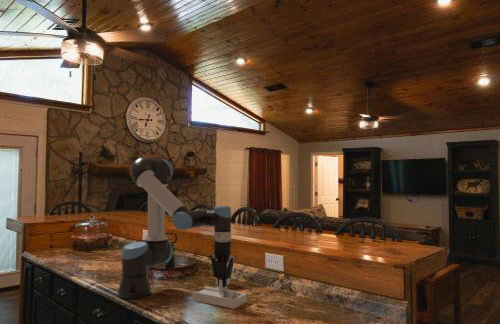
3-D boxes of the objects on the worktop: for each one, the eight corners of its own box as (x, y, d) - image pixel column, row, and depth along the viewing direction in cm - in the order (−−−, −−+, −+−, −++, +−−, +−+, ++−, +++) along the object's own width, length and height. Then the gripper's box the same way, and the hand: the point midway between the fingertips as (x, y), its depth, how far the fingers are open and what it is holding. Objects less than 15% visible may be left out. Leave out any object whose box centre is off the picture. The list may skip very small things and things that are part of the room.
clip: (221, 302, 165) (221, 291, 165) (227, 299, 168) (227, 289, 169) (230, 303, 162) (230, 293, 162) (235, 300, 166) (235, 290, 166)
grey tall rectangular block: (211, 293, 178) (211, 289, 179) (221, 289, 185) (221, 285, 185) (217, 294, 177) (218, 290, 177) (227, 290, 184) (227, 286, 184)
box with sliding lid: (192, 299, 169) (192, 291, 169) (205, 293, 178) (205, 286, 178) (234, 308, 158) (234, 300, 158) (246, 302, 167) (246, 293, 167)
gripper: (205, 240, 168) (205, 293, 167) (230, 243, 162) (229, 298, 161) (215, 238, 175) (214, 289, 174) (239, 240, 168) (238, 294, 167)
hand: (222, 293), depth 167 cm, fingers closed
